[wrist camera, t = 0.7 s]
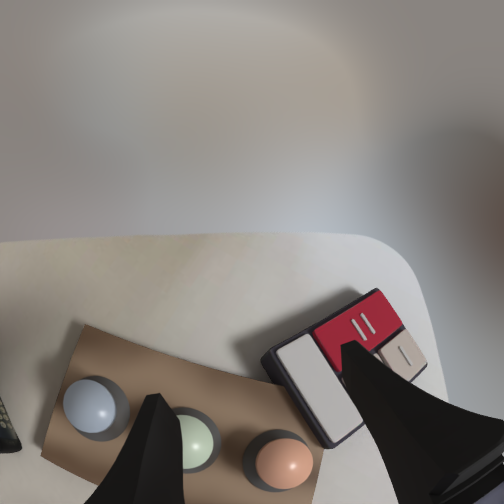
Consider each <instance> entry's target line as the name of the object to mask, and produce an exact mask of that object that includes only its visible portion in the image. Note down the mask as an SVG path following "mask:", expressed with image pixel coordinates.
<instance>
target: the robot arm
mask: <svg viewBox="0 0 504 504" xmlns="http://www.w3.org/2000/svg"><path fill="white" fill-rule="evenodd" d="M340 346H341V363H342V378H343V380H344V383H345V385H346V388H347V390H348V393H349V395H350V397H351V399H352V401H353V403H354V405H355V407H356V408H357V410H358V412H359V414H360V416H361V417H362V419H363V421H364V423H365V424H366V426H367V428H368V430H369V431H370V433H371V435H372V437H373V439H374V441H375V443H376V445H377V447H378V449H379V451H380V454H381V456H382V459H383V461H384V464H385V466H386V469H387V471H388V474H389V477H390V479H391V482H392V485H393V488H394V491H395V494H396V497H397V500H398V503H399V504H504V464H503V462H504V457H503V456H502V453H503V452H504V421H503V420H501V419H496V418H492V417H488V416H484V415H480V414H477V413H473V412H470V411H467V410H465V409H462V408H459V407H457V406H454V405H452V404H449V403H447V402H445V401H443V400H441V399H439V398H436V397H434V396H432V395H431V394H429V393H427V392H425V391H423V390H422V389H420V388H418V387H417V386H415V385H413V384H412V383H410V382H409V381H407V380H406V379H404V378H403V377H401V376H400V375H398V374H397V373H396V372H394V371H393V370H392V369H390V368H389V367H388V366H386V365H385V364H384V363H383V362H381V361H380V360H379V359H378V358H376V357H375V356H374V355H373V354H372V353H370V352H369V351H368V350H367V349H366V348H365V347H364V346H363V345H361V344H360V343H359V342H358V341H357V340H352V341H350V342H347V343H344V344H341V345H340ZM84 504H185V499H184V490H183V440H182V432H181V425H180V420H179V418H178V417H177V416H176V414H175V413H174V412H173V410H172V409H171V408H170V406H169V405H168V403H167V402H166V401H165V399H164V398H163V396H162V395H161V394H160V393H156V394H150V395H146V397H145V399H144V401H143V403H142V405H141V408H140V410H139V412H138V415H137V417H136V419H135V421H134V424H133V426H132V428H131V430H130V432H129V434H128V437H127V439H126V441H125V443H124V445H123V447H122V449H121V450H120V452H119V454H118V456H117V458H116V460H115V462H114V463H113V465H112V467H111V468H110V470H109V472H108V473H107V475H106V476H105V478H104V479H103V481H102V482H101V483H100V485H99V486H98V487H97V489H96V490H95V491H94V493H93V494H92V495H91V496H90V497H89V499H88V500H87V501H86V502H85V503H84Z"/></svg>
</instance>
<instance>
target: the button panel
mask: <svg viewBox="0 0 504 504" xmlns="http://www.w3.org/2000/svg"><path fill="white" fill-rule="evenodd" d="M79 380H92V381H95V382H97V383H99V384H101V385H103V386H104V387H106V388H107V389H108V390H109V391H110V392H111V394H112V395H113V397H114V399H115V402H116V406H117V415H116V418H115V421H114V423H113V424H112V425H111V427H109V428H108V429H107V430H105V431H103V432H99V433H88V432H84V431H81V430H79V429H77V428H76V427H74V426H73V425H72V424H71V423H70V421H69V420H68V418H67V417H66V414H65V412H64V407H63V400H64V395H65V393H66V391H67V389H68V388H69V386H70V385H72V384H73V383H74V382H76V381H79ZM156 393H160V394H161V395H162V396H163V398H164V399H165V401H166V402H167V403H168V405H169V406H170V408H171V409H172V410H173V412H174V413H175V414H176V416H177V415H188V416H192V417H194V418H197V419H198V420H200V421H202V422H203V423H204V424H205V425H206V426H207V427H208V429H209V430H210V432H211V435H212V438H213V450H212V453H211V455H210V457H209V458H208V459H207V460H206V461H205V462H204V463H203V464H201V465H200V466H198V467H195V468H190V469H183V490H184V499H185V504H311V503H312V499H313V495H314V491H315V487H316V483H317V479H318V474H319V470H320V465H321V461H322V456H323V451H324V448H323V447H322V446H321V444H320V443H319V441H318V440H317V438H316V437H315V435H314V434H313V432H312V430H311V429H310V427H309V426H308V424H307V423H306V421H305V419H304V418H303V416H302V415H301V413H300V412H299V410H298V408H297V407H296V405H295V404H294V402H293V400H292V399H291V397H290V395H289V394H288V392H287V391H286V389H285V387H284V386H280V385H275V384H271V383H266V382H262V381H258V380H254V379H250V378H246V377H242V376H238V375H234V374H230V373H226V372H223V371H219V370H215V369H212V368H208V367H205V366H201V365H198V364H195V363H191V362H188V361H185V360H182V359H179V358H175V357H172V356H169V355H166V354H163V353H160V352H157V351H154V350H152V349H149V348H146V347H143V346H140V345H137V344H135V343H132V342H129V341H127V340H124V339H121V338H119V337H116V336H113V335H111V334H108V333H106V332H103V331H101V330H98V329H96V328H93V327H91V326H89V325H86V324H85V326H84V328H83V330H82V333H81V335H80V338H79V340H78V343H77V345H76V348H75V350H74V353H73V356H72V358H71V361H70V364H69V366H68V369H67V372H66V374H65V377H64V380H63V383H62V386H61V389H60V392H59V395H58V398H57V401H56V404H55V407H54V410H53V413H52V417H51V420H50V423H49V427H48V430H47V434H46V437H45V441H44V445H43V449H42V452H41V456H42V457H43V458H45V459H47V460H48V461H50V462H52V463H54V464H56V465H57V466H59V467H61V468H63V469H65V470H67V471H69V472H71V473H73V474H75V475H77V476H79V477H81V478H83V479H85V480H87V481H89V482H91V483H94V484H96V485H98V486H99V485H100V483H101V482H102V481H103V479H104V478H105V476H106V475H107V473H108V472H109V470H110V468H111V467H112V465H113V463H114V462H115V460H116V458H117V456H118V454H119V452H120V450H121V449H122V447H123V445H124V443H125V441H126V439H127V437H128V434H129V432H130V430H131V428H132V426H133V424H134V421H135V419H136V417H137V415H138V412H139V410H140V408H141V405H142V403H143V401H144V399H145V397H146V395H150V394H156ZM282 438H286V439H294V440H298V441H300V442H302V443H303V444H305V445H306V446H307V447H308V449H309V450H310V452H311V454H312V457H313V467H312V471H311V473H310V475H309V476H308V478H307V479H306V480H305V481H304V482H303V483H301V484H300V485H298V486H296V487H294V488H290V489H278V488H274V487H272V486H270V485H268V484H267V483H265V482H264V481H263V480H262V479H261V478H260V477H259V475H258V473H257V471H256V466H255V462H256V457H257V455H258V452H259V451H260V449H261V448H262V447H263V446H264V445H265V444H267V443H268V442H270V441H273V440H276V439H282Z"/></svg>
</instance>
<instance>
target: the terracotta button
mask: <svg viewBox="0 0 504 504" xmlns="http://www.w3.org/2000/svg"><path fill="white" fill-rule="evenodd" d="M255 466H256V471H257V473H258V475H259V477H260V478H261V479H262V480H263V481H264V482H265V483H267V484H268V485H270V486H272V487H274V488H278V489H290V488H294V487H296V486H298V485H300V484H301V483H303V482H304V481H305V480H306V479H307V478H308V476H309V475H310V473H311V471H312V467H313V457H312V454H311V452H310V450H309V449H308V447H307V446H306V445H305V444H303V443H302V442H300V441H298V440H294V439H286V438H282V439H276V440H273V441H270V442H268V443H267V444H265V445H264V446H263V447H262V448H261V449H260V451H259V452H258V455H257V457H256V462H255Z"/></svg>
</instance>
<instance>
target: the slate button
mask: <svg viewBox="0 0 504 504" xmlns="http://www.w3.org/2000/svg"><path fill="white" fill-rule="evenodd" d="M63 407H64V412H65V414H66V417H67V418H68V420H69V421H70V423H71V424H72V425H73V426H74V427H76V428H77V429H79V430H81V431H84V432H88V433H99V432H103V431H105V430H107V429H108V428H109V427H111V425H112V424H113V423H114V421H115V418H116V415H117V406H116V402H115V399H114V397H113V395H112V394H111V392H110V391H109V390H108V389H107V388H106V387H104V386H103V385H101V384H99V383H97V382H95V381H92V380H79V381H76V382H74V383H73V384H72V385H70V386H69V388H68V389H67V391H66V393H65V395H64V400H63Z"/></svg>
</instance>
